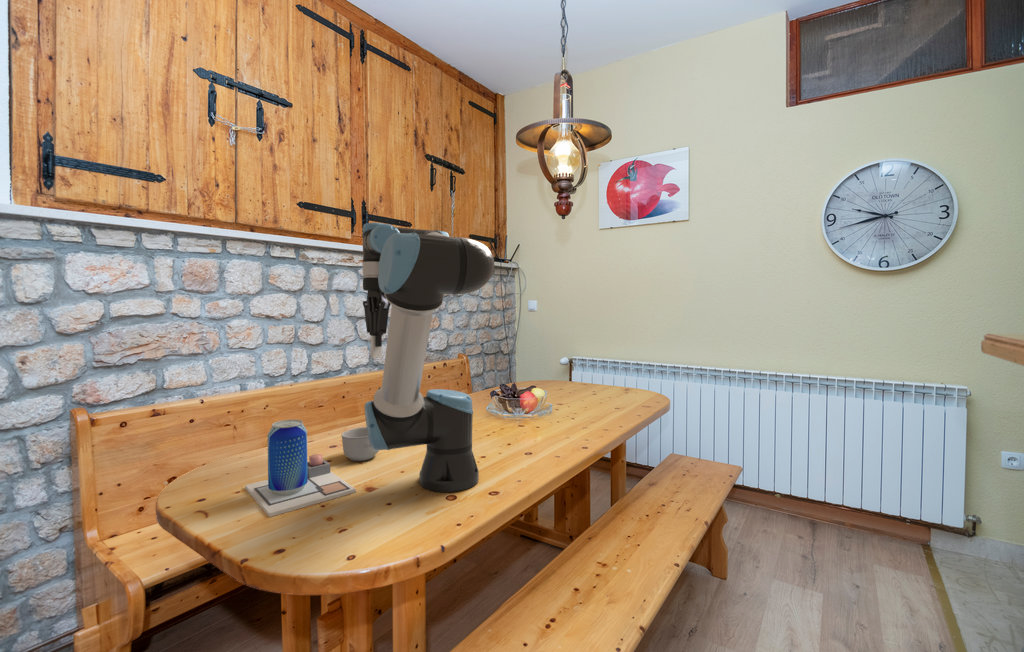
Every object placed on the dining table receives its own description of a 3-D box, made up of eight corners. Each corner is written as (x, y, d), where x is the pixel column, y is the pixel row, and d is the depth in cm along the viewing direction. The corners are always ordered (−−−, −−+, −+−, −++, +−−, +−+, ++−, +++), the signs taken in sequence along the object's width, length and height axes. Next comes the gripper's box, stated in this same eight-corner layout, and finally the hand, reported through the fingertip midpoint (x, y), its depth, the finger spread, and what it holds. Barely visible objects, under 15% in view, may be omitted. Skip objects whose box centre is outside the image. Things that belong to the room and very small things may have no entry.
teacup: (368, 465, 127) (368, 437, 126) (333, 462, 129) (333, 434, 128) (391, 450, 140) (391, 424, 140) (359, 447, 142) (359, 422, 142)
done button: (324, 467, 119) (324, 456, 118) (311, 470, 116) (311, 459, 116) (319, 464, 121) (319, 453, 121) (307, 467, 119) (307, 455, 119)
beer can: (269, 499, 102) (268, 429, 101) (267, 486, 109) (266, 421, 109) (309, 492, 106) (308, 425, 105) (305, 479, 114) (305, 417, 113)
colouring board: (355, 492, 109) (355, 479, 109) (269, 517, 96) (269, 502, 96) (323, 469, 123) (323, 457, 123) (244, 488, 110) (244, 475, 110)
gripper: (399, 277, 130) (398, 358, 131) (377, 278, 140) (377, 354, 141) (374, 276, 125) (374, 360, 126) (354, 277, 134) (354, 356, 136)
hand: (376, 357), depth 134 cm, fingers closed
